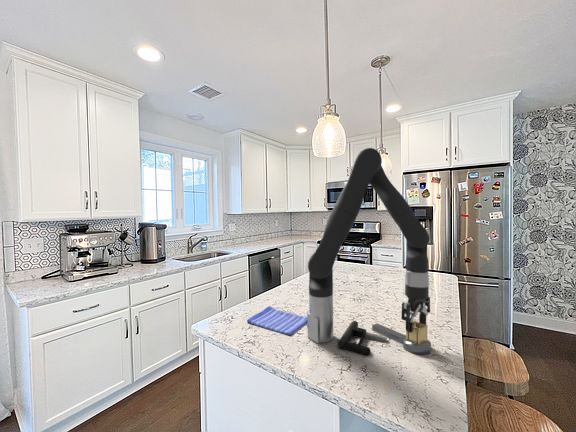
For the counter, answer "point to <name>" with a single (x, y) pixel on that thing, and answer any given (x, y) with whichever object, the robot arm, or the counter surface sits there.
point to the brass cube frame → (417, 334)
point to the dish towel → (278, 321)
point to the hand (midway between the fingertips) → (416, 328)
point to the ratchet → (403, 340)
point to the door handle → (360, 333)
